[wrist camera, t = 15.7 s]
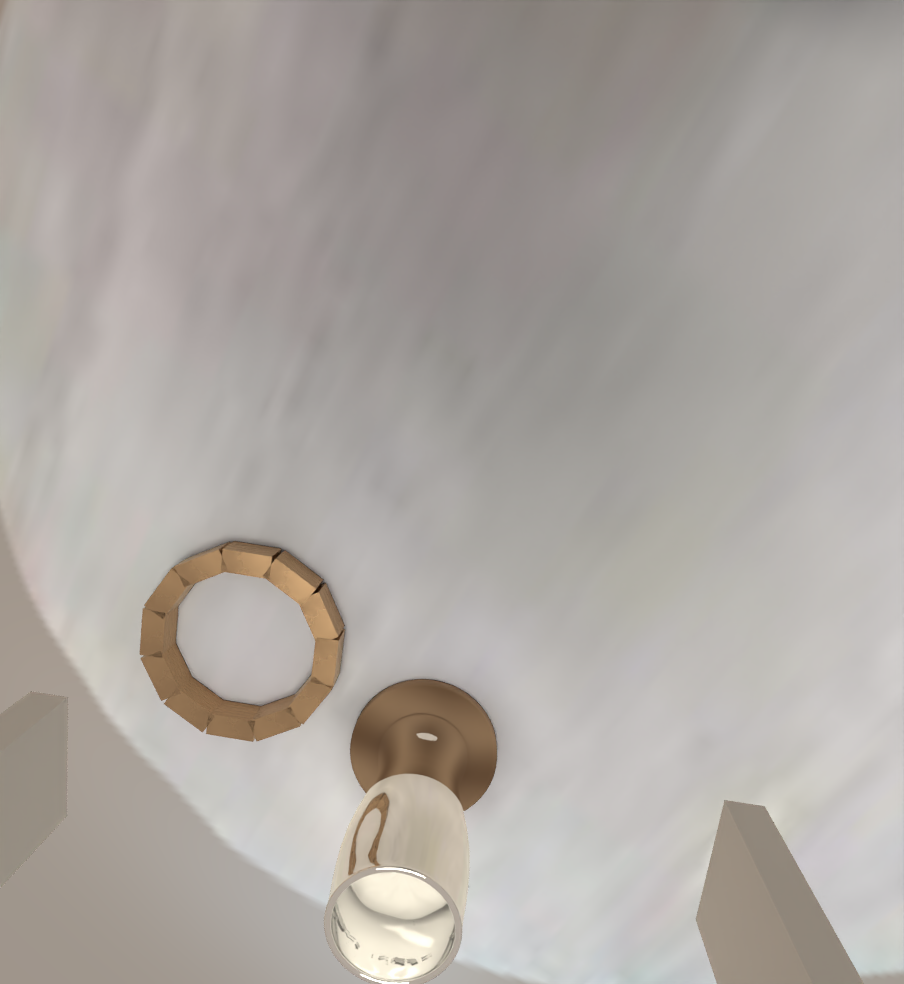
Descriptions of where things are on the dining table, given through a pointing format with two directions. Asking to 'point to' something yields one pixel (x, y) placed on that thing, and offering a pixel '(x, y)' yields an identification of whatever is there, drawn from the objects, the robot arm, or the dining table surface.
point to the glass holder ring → (199, 700)
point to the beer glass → (404, 860)
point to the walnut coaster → (431, 701)
